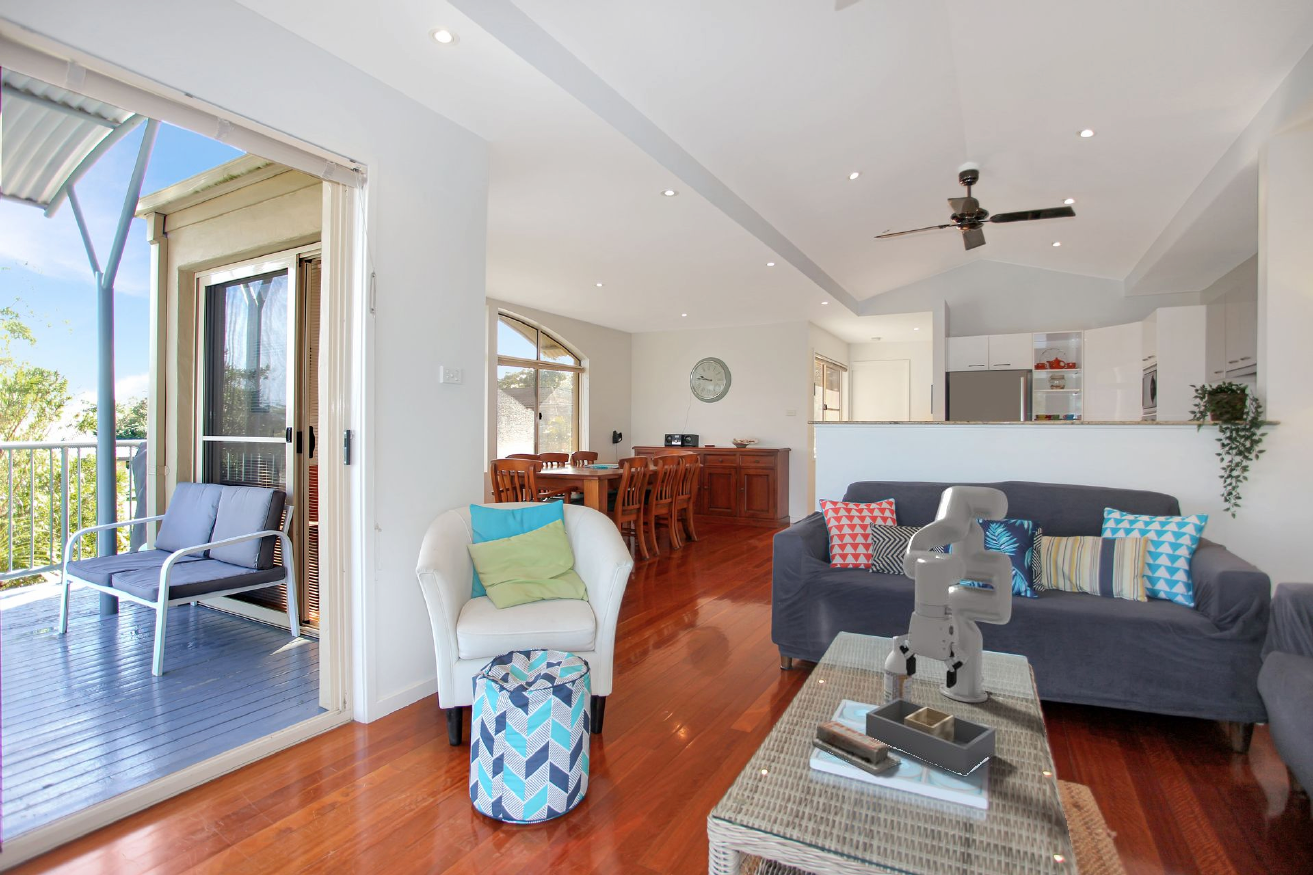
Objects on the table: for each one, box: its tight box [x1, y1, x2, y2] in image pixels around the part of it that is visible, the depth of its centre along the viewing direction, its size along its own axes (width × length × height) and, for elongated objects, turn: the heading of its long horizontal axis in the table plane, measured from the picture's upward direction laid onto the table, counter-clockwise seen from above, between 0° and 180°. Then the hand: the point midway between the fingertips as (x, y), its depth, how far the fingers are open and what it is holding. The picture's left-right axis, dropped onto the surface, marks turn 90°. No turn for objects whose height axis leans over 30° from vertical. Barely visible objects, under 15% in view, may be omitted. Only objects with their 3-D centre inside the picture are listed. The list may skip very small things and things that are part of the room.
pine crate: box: [904, 706, 955, 742], centre depth 155 cm, size 11×7×6 cm, turn 131°
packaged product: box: [811, 720, 902, 775], centre depth 151 cm, size 18×5×10 cm
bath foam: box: [883, 635, 913, 705], centre depth 175 cm, size 7×7×20 cm
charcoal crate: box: [865, 698, 996, 775], centre depth 155 cm, size 16×24×6 cm, turn 41°
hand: (930, 680), depth 155 cm, fingers open, 9 cm apart
